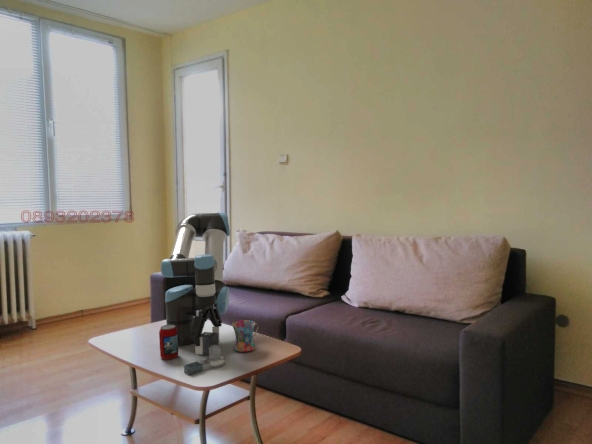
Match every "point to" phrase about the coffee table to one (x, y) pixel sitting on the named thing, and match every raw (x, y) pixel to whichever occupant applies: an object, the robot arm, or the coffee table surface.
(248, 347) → the mug
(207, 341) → the cube with silver knob
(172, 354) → the beverage can
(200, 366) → the faucet
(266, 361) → the coffee table surface
